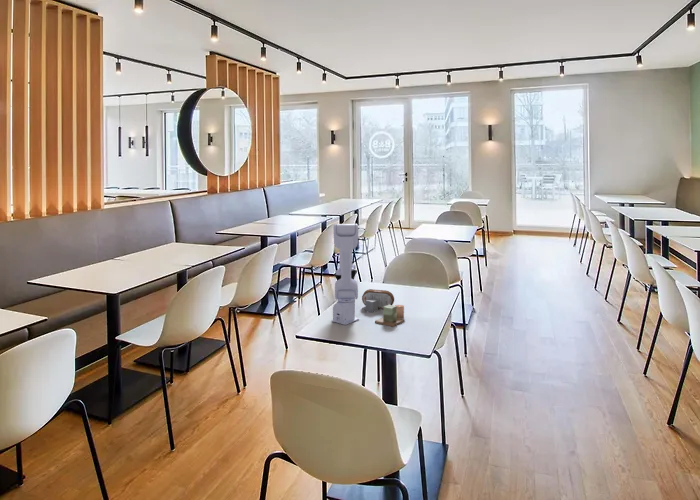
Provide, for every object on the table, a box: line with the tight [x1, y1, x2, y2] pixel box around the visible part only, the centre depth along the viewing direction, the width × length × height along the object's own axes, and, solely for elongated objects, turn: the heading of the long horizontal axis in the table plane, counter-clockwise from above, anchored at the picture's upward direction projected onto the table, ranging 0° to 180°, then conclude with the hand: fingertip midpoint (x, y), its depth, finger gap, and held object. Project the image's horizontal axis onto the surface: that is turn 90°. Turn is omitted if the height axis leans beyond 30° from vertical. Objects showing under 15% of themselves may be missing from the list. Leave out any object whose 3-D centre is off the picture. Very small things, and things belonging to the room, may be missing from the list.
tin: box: [361, 288, 395, 309], centre depth 222 cm, size 15×3×8 cm, turn 74°
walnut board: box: [374, 317, 406, 328], centre depth 203 cm, size 9×9×1 cm
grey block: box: [365, 299, 379, 313], centre depth 218 cm, size 4×4×5 cm
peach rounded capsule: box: [394, 304, 405, 319], centre depth 209 cm, size 4×4×5 cm
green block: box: [382, 304, 397, 322], centre depth 202 cm, size 4×4×6 cm
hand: (346, 287), depth 219 cm, fingers open, 7 cm apart
